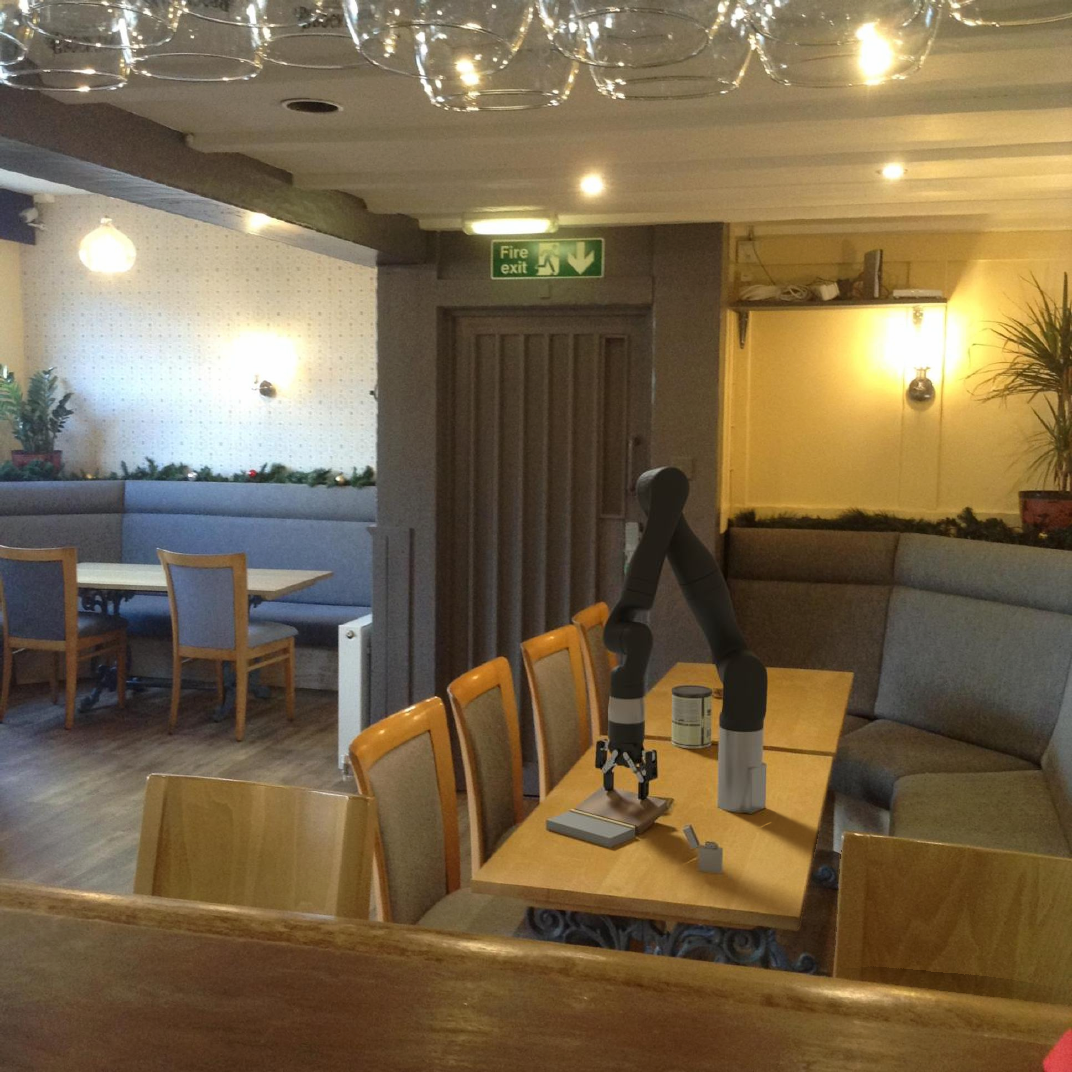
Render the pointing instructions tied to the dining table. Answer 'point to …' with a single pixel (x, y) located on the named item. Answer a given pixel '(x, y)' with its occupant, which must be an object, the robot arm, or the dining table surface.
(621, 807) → the walnut plank
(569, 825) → the board
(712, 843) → the lighter
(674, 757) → the dining table surface
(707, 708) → the coffee can
